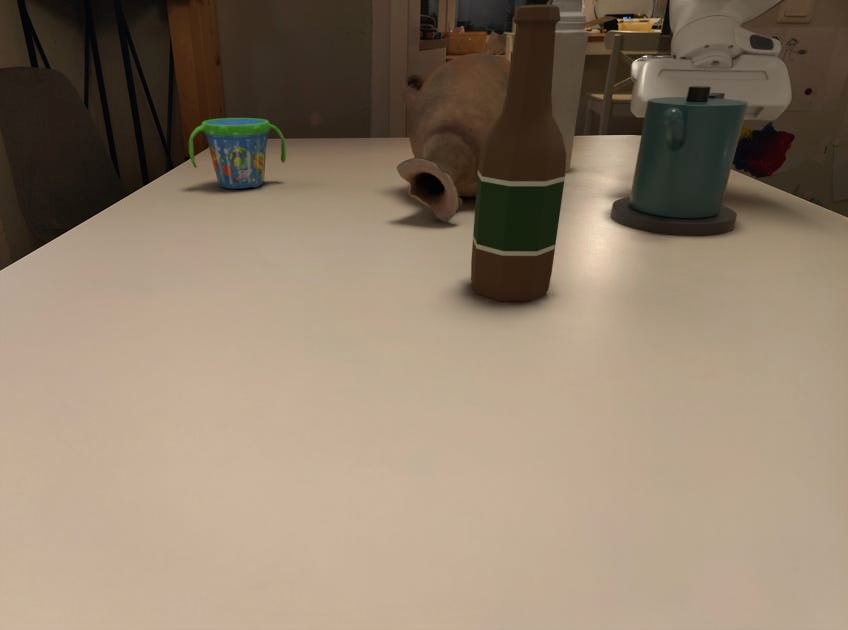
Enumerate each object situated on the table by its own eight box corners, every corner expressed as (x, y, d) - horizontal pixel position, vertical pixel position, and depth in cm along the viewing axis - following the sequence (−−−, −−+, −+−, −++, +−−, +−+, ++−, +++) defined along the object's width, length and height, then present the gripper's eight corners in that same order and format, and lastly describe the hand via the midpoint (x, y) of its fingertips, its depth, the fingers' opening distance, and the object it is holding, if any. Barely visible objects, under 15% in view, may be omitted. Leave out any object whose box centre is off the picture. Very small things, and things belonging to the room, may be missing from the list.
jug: (453, 175, 109) (372, 248, 88) (429, 56, 99) (331, 108, 79) (569, 161, 97) (507, 241, 77) (555, 25, 88) (479, 77, 68)
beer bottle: (555, 281, 62) (594, 5, 50) (540, 308, 55) (581, 1, 44) (480, 270, 65) (501, 8, 53) (458, 296, 58) (476, 4, 47)
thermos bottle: (515, 168, 113) (533, -8, 100) (542, 163, 118) (562, -6, 105) (552, 175, 108) (575, -10, 95) (578, 169, 112) (604, -9, 99)
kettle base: (709, 207, 87) (712, 196, 87) (753, 237, 74) (757, 225, 74) (600, 204, 89) (602, 194, 88) (624, 233, 76) (626, 221, 75)
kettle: (657, 187, 92) (679, 80, 85) (739, 198, 85) (770, 83, 78) (603, 215, 78) (624, 90, 71) (696, 231, 71) (730, 94, 64)
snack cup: (285, 176, 109) (280, 115, 104) (292, 189, 100) (288, 122, 95) (194, 181, 106) (185, 118, 101) (193, 195, 97) (184, 126, 92)
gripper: (637, 39, 86) (639, 124, 82) (793, 40, 84) (802, 128, 80) (623, 71, 92) (624, 152, 88) (768, 74, 90) (776, 156, 86)
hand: (710, 141), depth 84 cm, fingers closed
